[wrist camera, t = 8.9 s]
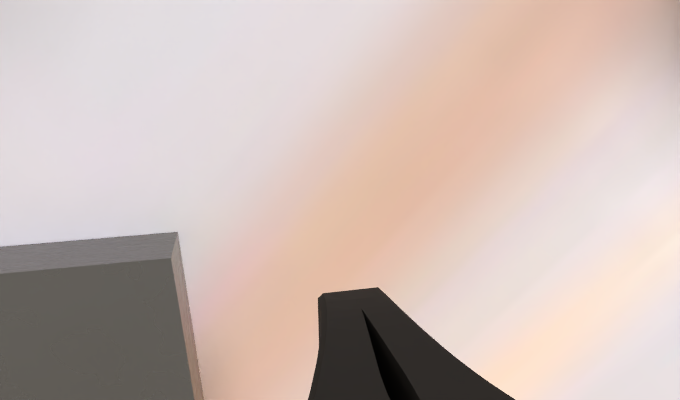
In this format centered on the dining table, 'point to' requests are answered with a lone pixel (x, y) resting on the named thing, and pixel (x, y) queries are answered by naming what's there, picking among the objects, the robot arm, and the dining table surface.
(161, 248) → the slate plate
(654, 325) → the dining table surface
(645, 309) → the dining table surface
